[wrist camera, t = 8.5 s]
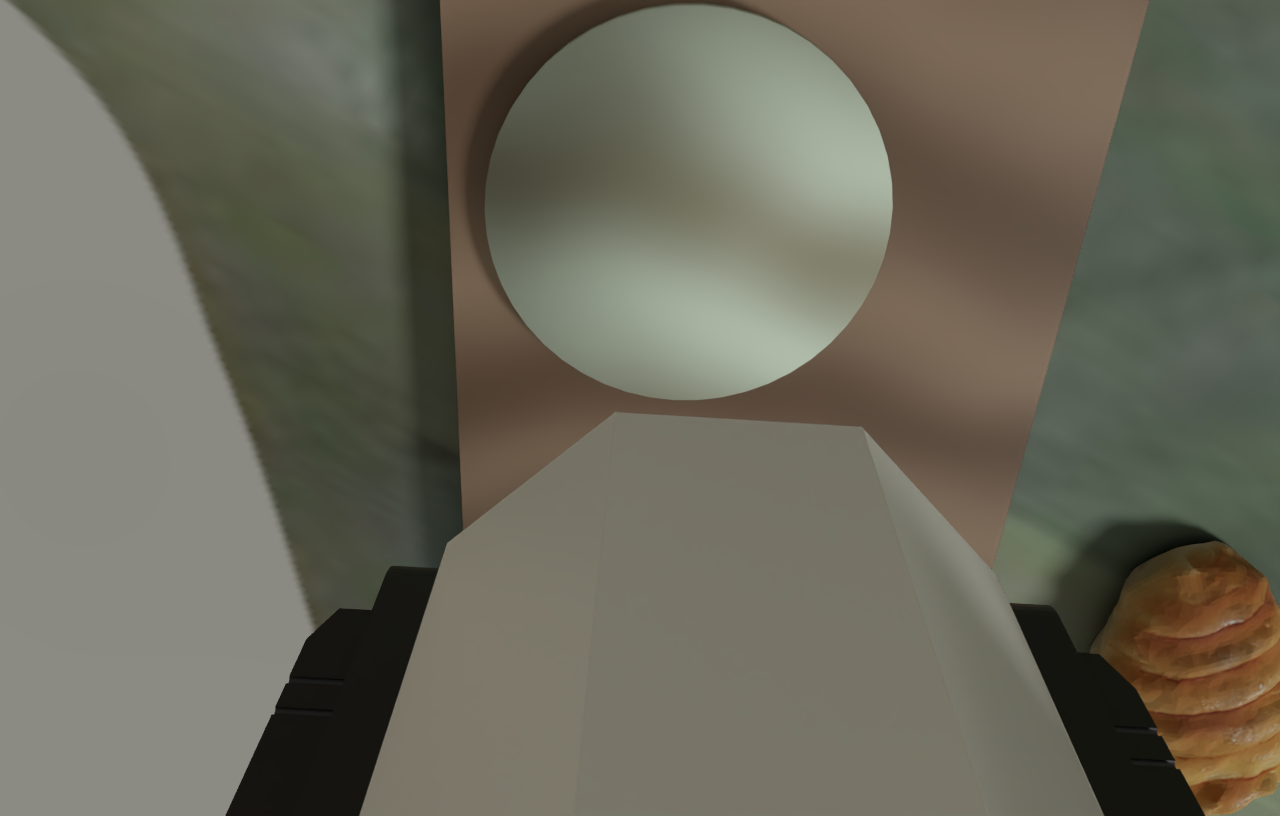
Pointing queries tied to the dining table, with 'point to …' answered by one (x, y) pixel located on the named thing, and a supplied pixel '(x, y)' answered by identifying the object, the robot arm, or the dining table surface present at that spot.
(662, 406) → the board
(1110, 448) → the dining table surface
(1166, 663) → the pastry
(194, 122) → the dining table surface
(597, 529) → the cap
